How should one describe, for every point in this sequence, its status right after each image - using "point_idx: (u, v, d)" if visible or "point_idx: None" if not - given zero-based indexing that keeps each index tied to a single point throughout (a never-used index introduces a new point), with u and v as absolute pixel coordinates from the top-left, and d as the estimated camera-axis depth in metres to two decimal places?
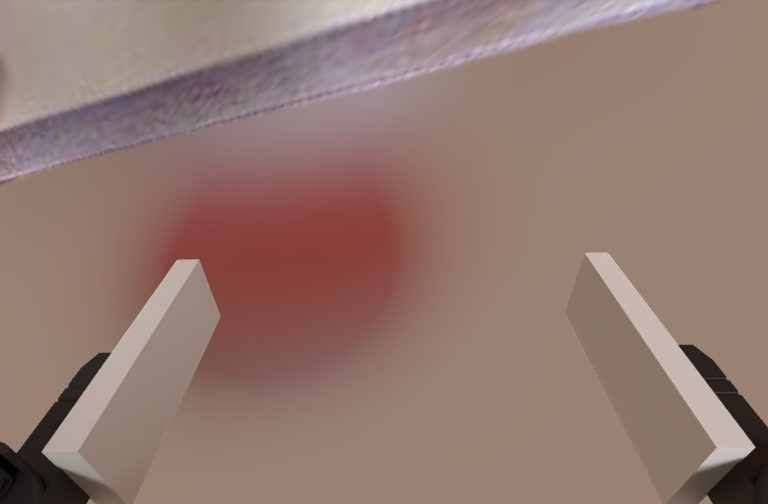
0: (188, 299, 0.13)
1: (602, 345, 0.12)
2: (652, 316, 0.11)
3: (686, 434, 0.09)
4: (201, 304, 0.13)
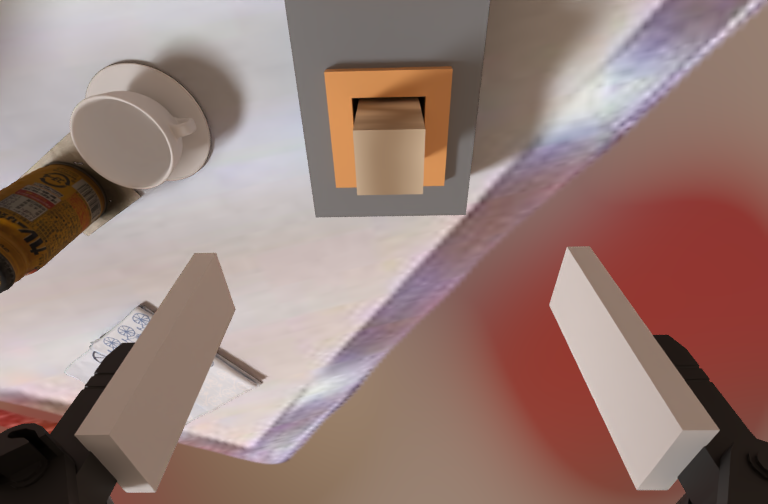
0: (206, 291, 0.13)
1: (582, 336, 0.12)
2: (629, 307, 0.11)
3: (656, 419, 0.09)
4: (218, 296, 0.14)
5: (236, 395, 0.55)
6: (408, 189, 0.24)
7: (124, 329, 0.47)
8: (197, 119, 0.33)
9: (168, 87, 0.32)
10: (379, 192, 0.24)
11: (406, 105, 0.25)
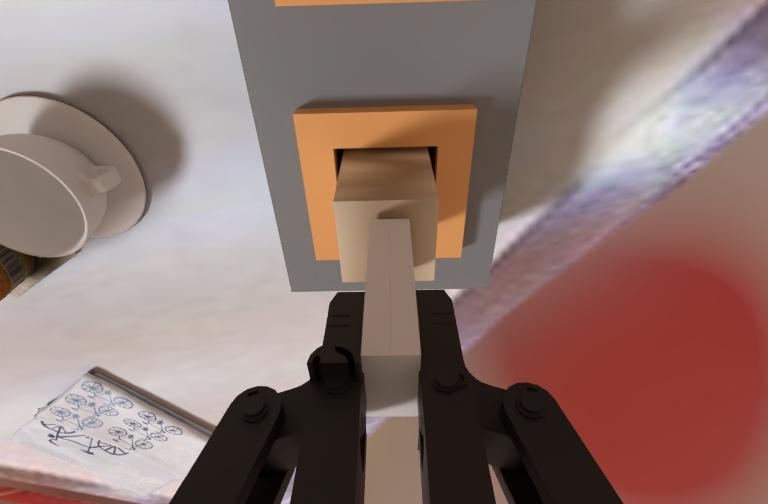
0: None
1: None
2: None
3: None
4: None
5: None
6: None
7: (73, 398, 0.39)
8: (126, 165, 0.26)
9: (84, 126, 0.24)
10: None
11: (410, 153, 0.19)
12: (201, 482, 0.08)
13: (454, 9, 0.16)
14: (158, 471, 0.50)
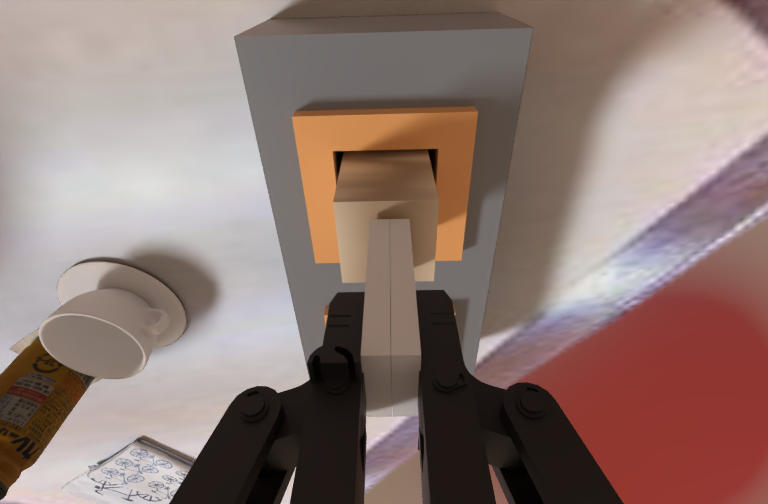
0: None
1: None
2: (413, 266, 0.13)
3: None
4: None
5: None
6: None
7: (122, 461, 0.46)
8: (172, 302, 0.33)
9: (141, 279, 0.31)
10: None
11: None
12: (201, 482, 0.08)
13: None
14: None
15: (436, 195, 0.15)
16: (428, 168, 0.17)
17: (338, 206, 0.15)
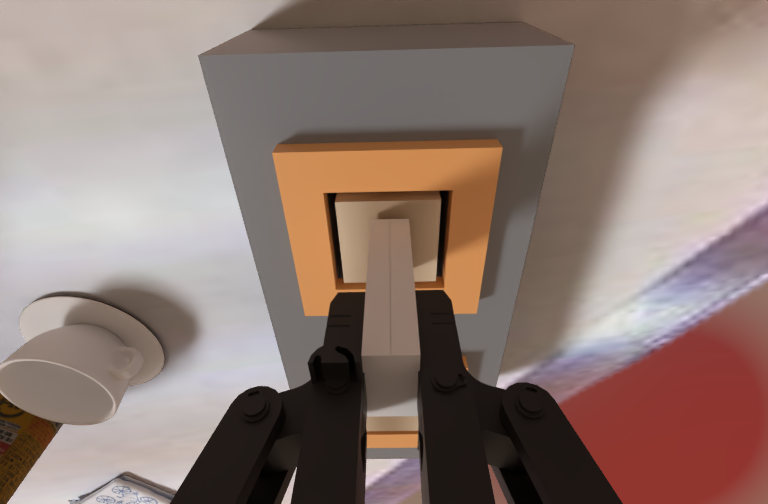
0: None
1: None
2: (412, 266, 0.13)
3: None
4: None
5: None
6: (411, 427, 0.24)
7: (104, 498, 0.43)
8: (147, 339, 0.29)
9: (111, 314, 0.28)
10: (383, 429, 0.24)
11: None
12: (202, 482, 0.08)
13: None
14: None
15: (438, 195, 0.15)
16: None
17: (340, 206, 0.15)
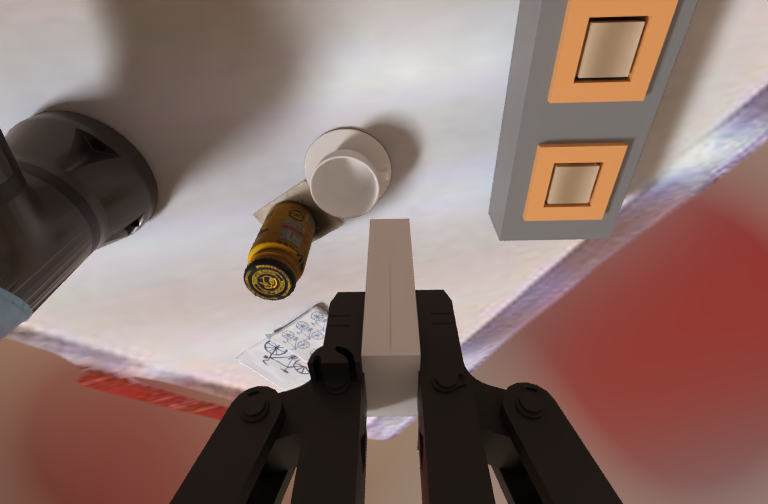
0: None
1: None
2: (412, 266, 0.13)
3: None
4: None
5: None
6: (580, 200, 0.40)
7: (301, 324, 0.59)
8: (384, 165, 0.45)
9: (369, 144, 0.44)
10: (562, 202, 0.40)
11: None
12: (201, 482, 0.08)
13: (624, 102, 0.35)
14: None
15: (642, 21, 0.31)
16: (625, 17, 0.33)
17: (594, 26, 0.31)
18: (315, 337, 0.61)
